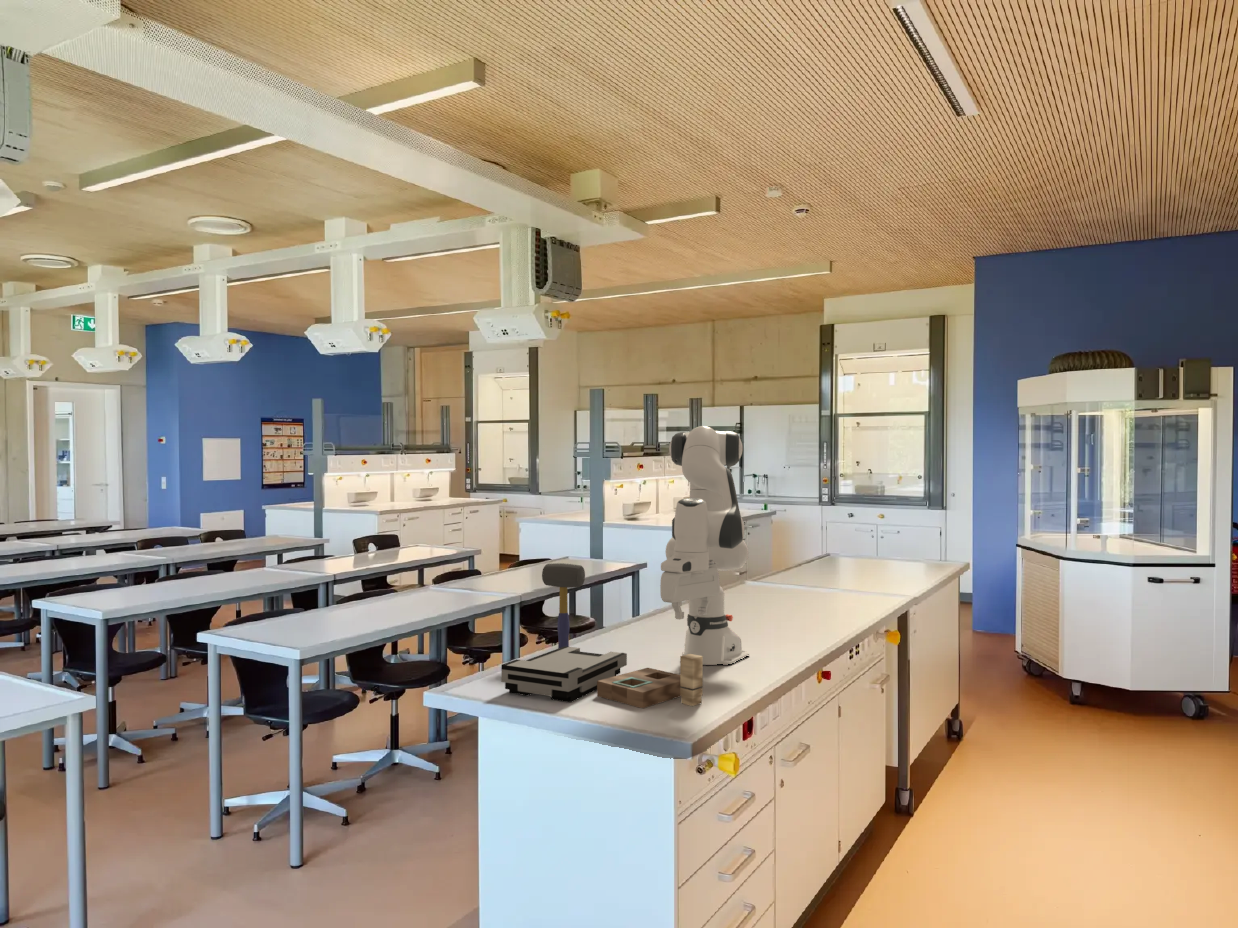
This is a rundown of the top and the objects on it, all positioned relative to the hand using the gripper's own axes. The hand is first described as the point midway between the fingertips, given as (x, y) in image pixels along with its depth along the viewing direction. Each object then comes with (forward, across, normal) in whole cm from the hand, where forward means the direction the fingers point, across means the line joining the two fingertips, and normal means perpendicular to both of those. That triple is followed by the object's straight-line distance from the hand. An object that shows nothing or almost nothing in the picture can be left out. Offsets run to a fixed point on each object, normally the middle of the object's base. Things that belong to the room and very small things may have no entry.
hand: (691, 616), depth 212 cm
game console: (+23, +10, -36) cm, 44 cm away
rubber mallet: (+22, -10, -59) cm, 64 cm away
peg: (+22, 0, 0) cm, 22 cm away
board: (+22, +2, -14) cm, 26 cm away
